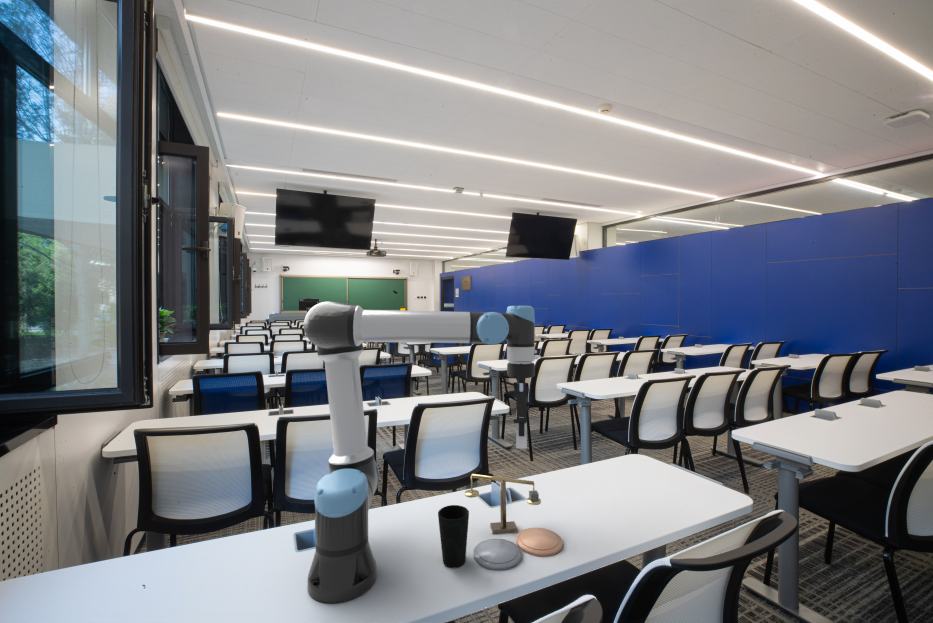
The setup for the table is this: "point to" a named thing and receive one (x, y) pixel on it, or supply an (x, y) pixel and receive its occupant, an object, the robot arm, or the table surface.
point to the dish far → (539, 541)
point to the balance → (504, 501)
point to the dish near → (497, 554)
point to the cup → (453, 534)
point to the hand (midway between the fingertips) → (521, 440)
